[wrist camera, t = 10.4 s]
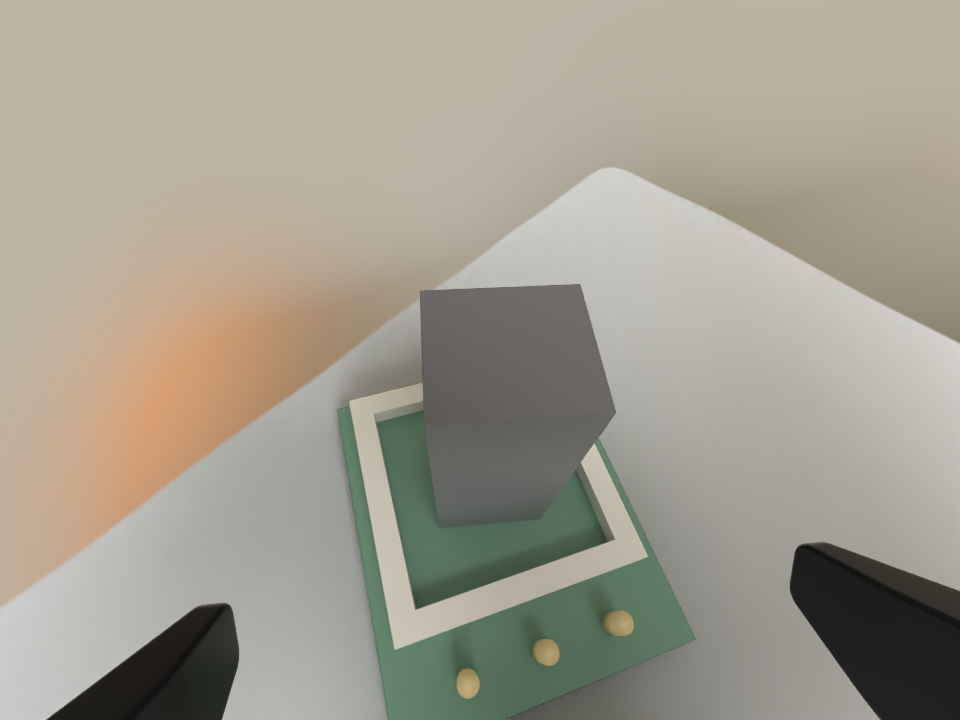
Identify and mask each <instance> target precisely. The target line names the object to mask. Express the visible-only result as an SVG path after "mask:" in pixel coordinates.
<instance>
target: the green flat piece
mask: <svg viewBox="0 0 960 720" xmlns="http://www.w3.org/2000/svg"><path fill="white" fill-rule="evenodd" d="M349 404H350V406H349V407H345V408H341V409H337V412H338V418H339V424H340V430H341V436H342V442H343V448H344V454H345V460H346V467H347V473H348V479H349V485H350V491H351V497H352V503H353V509H354V515H355V521H356V527H357V533H358V539H359V545H360V551H361V557H362V563H363V569H364V575H365V581H366V587H367V593H368V599H369V605H370V611H371V617H372V623H373V629H374V635H375V641H376V647H377V653H378V659H379V665H380V671H381V677H382V683H383V689H384V696H385V702H386V708H387V714H388V720H504V719H507V718H509V717H512V716H514V715H516V714H519V713H521V712H524V711H526V710H528V709H531V708H533V707H536V706H538V705H540V704H543V703H545V702H547V701H550V700H552V699H555V698H557V697H559V696H562V695H564V694H567V693H569V692H571V691H574V690H576V689H579V688H581V687H583V686H586V685H588V684H590V683H593V682H595V681H598V680H600V679H602V678H605V677H607V676H610V675H612V674H614V673H617V672H619V671H622V670H624V669H626V668H629V667H631V666H633V665H636V664H638V663H641V662H643V661H645V660H648V659H650V658H653V657H655V656H657V655H660V654H662V653H665V652H667V651H669V650H672V649H674V648H676V647H679V646H681V645H684V644H686V643H688V642H691V641H693V640H696V639H695V636H694V634H693V632H692V630H691V628H690V626H689V624H688V622H687V620H686V618H685V616H684V614H683V612H682V610H681V607H680V605H679V603H678V601H677V599H676V597H675V595H674V593H673V591H672V589H671V587H670V585H669V583H668V581H667V578H666V576H665V574H664V572H663V570H662V568H661V566H660V564H659V562H658V560H657V558H656V556H655V554H654V551H653V549H652V547H651V545H650V543H649V541H648V539H647V537H646V535H645V533H644V531H643V529H642V527H641V525H640V522H639V520H638V518H637V516H636V514H635V512H634V510H633V508H632V506H631V504H630V502H629V500H628V498H627V496H626V493H625V491H624V489H623V487H622V485H621V483H620V481H619V479H618V477H617V475H616V473H615V471H614V469H613V467H612V464H611V462H610V460H609V458H608V456H607V454H606V452H605V450H604V448H603V446H602V444H601V442H600V440H599V438H598V439H597V440H596V442H595V443H594V444H593V446H592V447H591V449H590V450H589V452H588V453H587V454H586V456H585V457H584V459H583V460H582V461H581V463H580V464H579V466H578V467H577V468H576V470H575V471H574V473H573V474H572V476H571V477H570V478H569V480H568V481H567V483H566V484H565V485H564V487H563V488H562V490H561V491H560V493H559V494H558V495H557V497H556V498H555V500H554V501H553V502H552V504H551V505H550V507H549V508H548V510H547V511H546V512H545V514H544V515H543V517H542V518H541V519H535V520H524V521H513V522H501V523H490V524H479V525H467V526H456V527H445V528H439V522H438V515H437V509H436V502H435V496H434V489H433V482H432V476H431V469H430V462H429V456H428V449H427V442H426V436H425V429H424V410H423V382H422V383H418V384H414V385H410V386H406V387H402V388H398V389H394V390H390V391H386V392H382V393H378V394H374V395H370V396H366V397H362V398H358V399H354V400H350V401H349Z"/></svg>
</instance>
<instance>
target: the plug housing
mask: <svg viewBox="0 0 960 720" xmlns="http://www.w3.org/2000/svg"><path fill="white" fill-rule="evenodd" d="M420 308H421V342H422V376H423V410H424V429H425V436H426V442H427V449H428V456H429V462H430V469H431V476H432V482H433V489H434V496H435V502H436V509H437V515H438V522H439V528H445V527H456V526H467V525H479V524H490V523H501V522H513V521H524V520H535V519H541V518H542V517H543V515H544V514H545V512H546V511H547V510H548V508H549V507H550V505H551V504H552V502H553V501H554V500H555V498H556V497H557V495H558V494H559V493H560V491H561V490H562V488H563V487H564V485H565V484H566V483H567V481H568V480H569V478H570V477H571V476H572V474H573V473H574V471H575V470H576V468H577V467H578V466H579V464H580V463H581V461H582V460H583V459H584V457H585V456H586V454H587V453H588V452H589V450H590V449H591V447H592V446H593V444H594V443H595V442H596V440H597V439H598V437H599V436H600V435H601V433H602V432H603V430H604V429H605V427H606V426H607V425H608V423H609V422H610V420H611V419H612V418H613V416H614V415H615V413H616V411H615V407H614V404H613V400H612V396H611V393H610V389H609V386H608V382H607V379H606V375H605V371H604V368H603V364H602V361H601V357H600V354H599V350H598V346H597V343H596V339H595V336H594V332H593V328H592V325H591V321H590V318H589V314H588V311H587V307H586V303H585V300H584V296H583V293H582V289H581V286H580V284H573V285H548V286H524V287H500V288H475V289H451V290H427V291H420Z"/></svg>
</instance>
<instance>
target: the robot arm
mask: <svg viewBox="0 0 960 720" xmlns="http://www.w3.org/2000/svg"><path fill="white" fill-rule="evenodd" d="M790 592H791V595H792V598H793V600H794V602H795V603H796V605H797V606H798V608H799V609H800V610H801V612H802V613H803V615H804V616H805V617H806V619H807V620H808V622H809V623H810V624H811V626H812V627H813V629H814V630H815V631H816V633H817V634H818V636H819V637H820V639H821V640H822V641H823V643H824V644H825V646H826V647H827V648H828V650H829V651H830V653H831V654H832V655H833V657H834V658H835V660H836V661H837V662H838V664H839V665H840V667H841V668H842V669H843V671H844V672H845V674H846V675H847V676H848V678H849V679H850V681H851V682H852V683H853V685H854V686H855V687H856V689H857V690H858V691H859V693H860V694H861V696H862V697H863V698H864V700H865V701H866V702H867V703H868V705H869V706H870V707H871V708H872V710H873V711H874V712H875V713H876V715H877V716H878V717H879V718H880V720H960V591H958V590H955V589H952V588H950V587H947V586H944V585H941V584H939V583H936V582H933V581H930V580H928V579H925V578H922V577H919V576H917V575H914V574H911V573H909V572H906V571H903V570H900V569H898V568H895V567H892V566H889V565H887V564H884V563H881V562H878V561H876V560H873V559H870V558H867V557H865V556H862V555H859V554H857V553H854V552H851V551H848V550H846V549H843V548H840V547H837V546H835V545H832V544H829V543H825V542H815V543H806V544H801V545H799V546H798V547H797V549H796V551H795V555H794V561H793V567H792V574H791V580H790ZM238 662H239V645H238V639H237V633H236V627H235V621H234V616H233V611H232V608H231V606H230V605H229V604H227V603H218V604H208V605H201V606H198V607H196V608H194V609H193V610H192V611H190V612H189V613H188V614H186V615H185V616H184V617H182V618H181V619H180V620H178V621H177V622H176V623H174V624H173V625H172V626H170V627H169V628H168V629H166V630H165V631H164V632H162V633H161V634H160V635H158V636H157V637H156V638H154V639H153V640H152V641H150V642H149V643H148V644H146V645H145V646H144V647H142V648H141V649H140V650H138V651H137V652H136V653H134V654H133V655H132V656H130V657H129V658H128V659H126V660H125V661H124V662H122V663H121V664H120V665H118V666H117V667H116V668H114V669H113V670H112V671H110V672H109V673H108V674H106V675H105V676H104V677H102V678H101V679H100V680H98V681H97V682H96V683H94V684H93V685H92V686H90V687H89V688H88V689H86V690H85V691H84V692H82V693H81V694H80V695H78V696H77V697H76V698H74V699H73V700H72V701H70V702H69V703H68V704H66V705H65V706H64V707H63V708H61V709H60V710H59V711H57V712H56V713H55V714H53V715H52V716H51V717H49V718H48V719H47V720H222V717H223V714H224V711H225V707H226V704H227V701H228V697H229V694H230V691H231V687H232V684H233V681H234V677H235V674H236V671H237V667H238Z"/></svg>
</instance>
